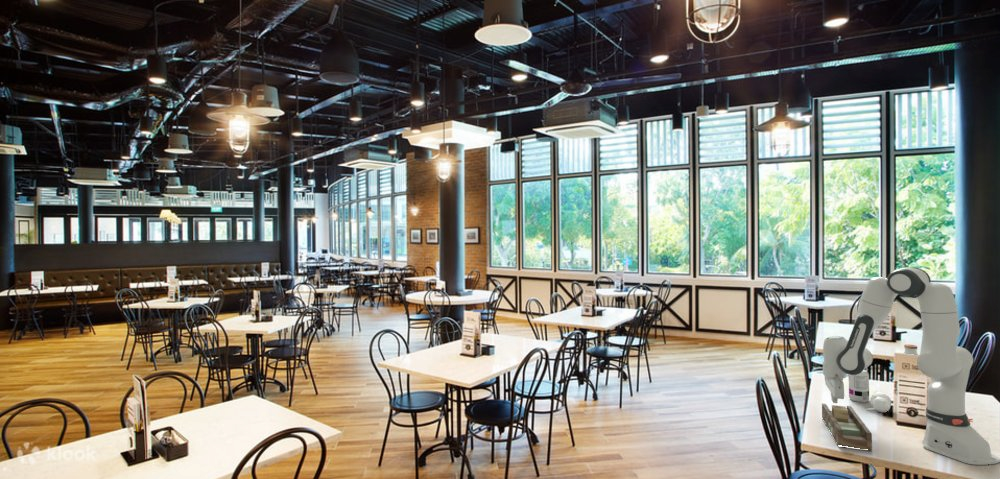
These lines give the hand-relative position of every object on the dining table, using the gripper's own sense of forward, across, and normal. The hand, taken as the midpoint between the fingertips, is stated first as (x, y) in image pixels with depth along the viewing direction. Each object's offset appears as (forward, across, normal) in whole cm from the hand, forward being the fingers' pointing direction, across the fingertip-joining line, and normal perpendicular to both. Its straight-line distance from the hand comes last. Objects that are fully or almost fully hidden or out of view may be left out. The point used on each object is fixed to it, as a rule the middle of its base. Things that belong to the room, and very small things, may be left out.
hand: (834, 402), depth 226 cm
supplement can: (+8, +32, -16) cm, 37 cm away
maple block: (+4, -8, 0) cm, 9 cm away
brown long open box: (+7, -17, 0) cm, 19 cm away
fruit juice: (+8, +36, -38) cm, 53 cm away
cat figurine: (+8, +19, -21) cm, 29 cm away
